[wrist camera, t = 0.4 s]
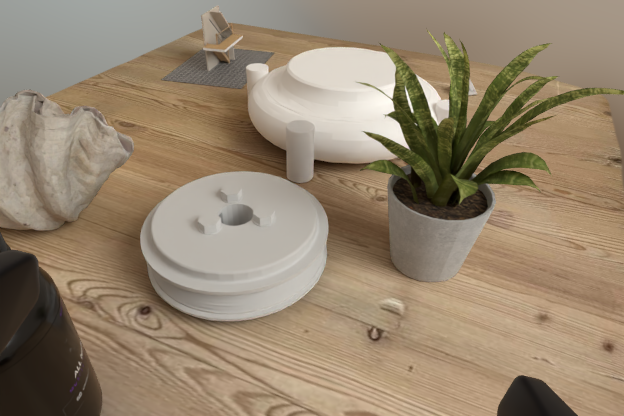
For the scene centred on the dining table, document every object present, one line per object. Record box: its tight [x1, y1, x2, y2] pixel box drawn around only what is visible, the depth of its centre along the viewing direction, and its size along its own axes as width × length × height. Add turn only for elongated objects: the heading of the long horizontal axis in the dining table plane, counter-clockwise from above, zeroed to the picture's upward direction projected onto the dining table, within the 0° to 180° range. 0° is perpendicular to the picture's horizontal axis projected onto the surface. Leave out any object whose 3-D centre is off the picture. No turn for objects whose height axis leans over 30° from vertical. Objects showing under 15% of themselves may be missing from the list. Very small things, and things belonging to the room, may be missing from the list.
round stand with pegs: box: [246, 47, 449, 183], centre depth 48 cm, size 24×24×7 cm
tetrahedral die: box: [468, 79, 477, 95], centre depth 59 cm, size 4×3×3 cm
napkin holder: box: [201, 6, 243, 72], centre depth 63 cm, size 3×7×7 cm, turn 167°
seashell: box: [0, 90, 134, 230], centre depth 34 cm, size 10×15×10 cm
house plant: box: [354, 33, 624, 282], centre depth 29 cm, size 14×14×16 cm
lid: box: [140, 171, 328, 321], centre depth 32 cm, size 13×13×5 cm
